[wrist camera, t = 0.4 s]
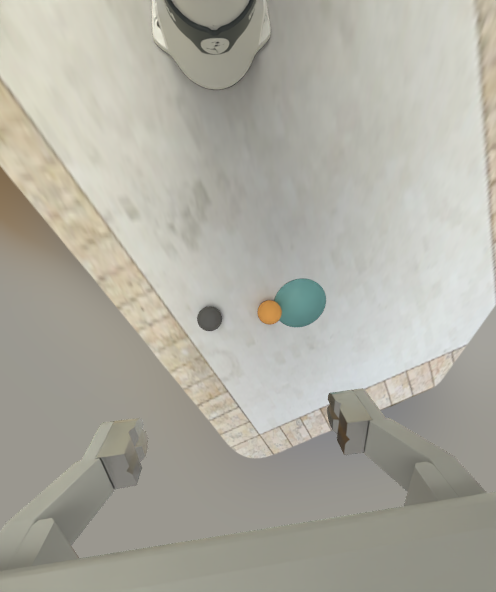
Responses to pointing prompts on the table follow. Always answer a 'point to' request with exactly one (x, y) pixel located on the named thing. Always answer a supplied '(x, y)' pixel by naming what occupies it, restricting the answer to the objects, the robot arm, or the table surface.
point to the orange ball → (269, 312)
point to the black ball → (209, 318)
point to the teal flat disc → (300, 302)
